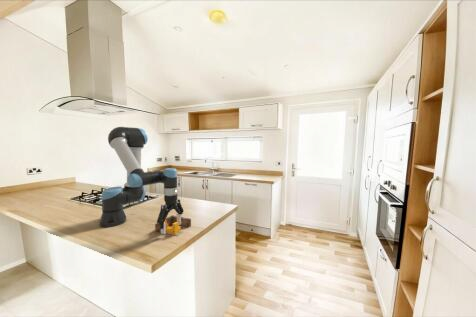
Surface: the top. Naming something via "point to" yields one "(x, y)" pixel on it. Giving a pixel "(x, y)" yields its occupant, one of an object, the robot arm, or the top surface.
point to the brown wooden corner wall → (172, 220)
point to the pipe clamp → (172, 228)
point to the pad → (173, 234)
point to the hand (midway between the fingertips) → (171, 228)
